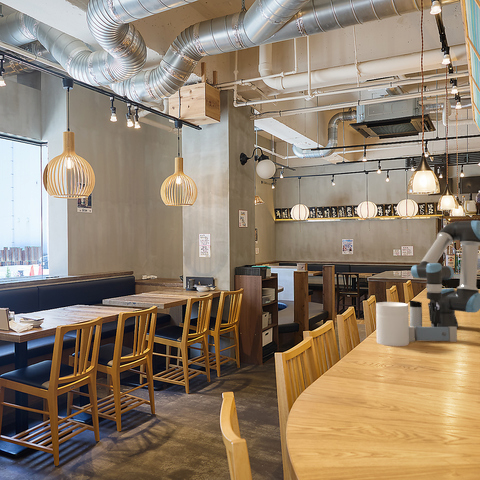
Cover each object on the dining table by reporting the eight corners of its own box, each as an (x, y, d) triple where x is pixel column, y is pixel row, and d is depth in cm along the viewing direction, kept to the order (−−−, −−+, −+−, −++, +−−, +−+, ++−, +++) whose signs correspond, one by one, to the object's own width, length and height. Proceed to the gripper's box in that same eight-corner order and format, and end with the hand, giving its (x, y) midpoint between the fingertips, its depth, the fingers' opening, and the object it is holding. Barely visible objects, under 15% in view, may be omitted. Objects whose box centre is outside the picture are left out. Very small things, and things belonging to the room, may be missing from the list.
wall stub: (455, 340, 233) (455, 326, 233) (456, 341, 231) (456, 327, 231) (448, 340, 233) (448, 326, 233) (449, 341, 231) (449, 327, 231)
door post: (412, 340, 235) (412, 326, 235) (414, 341, 232) (414, 327, 232) (406, 340, 236) (406, 326, 236) (408, 341, 233) (408, 327, 233)
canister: (413, 342, 231) (413, 303, 231) (401, 347, 220) (400, 307, 220) (384, 337, 242) (384, 301, 242) (371, 343, 230) (370, 304, 231)
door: (447, 340, 233) (447, 326, 233) (449, 341, 230) (449, 327, 230) (414, 340, 234) (413, 326, 234) (415, 341, 232) (415, 327, 232)
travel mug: (407, 335, 246) (407, 299, 246) (418, 335, 247) (418, 299, 247) (412, 338, 240) (412, 301, 240) (424, 337, 241) (424, 301, 241)
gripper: (423, 290, 247) (423, 332, 246) (431, 293, 234) (431, 338, 233) (437, 290, 246) (437, 333, 246) (445, 293, 233) (446, 338, 233)
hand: (434, 335), depth 240 cm, fingers closed
